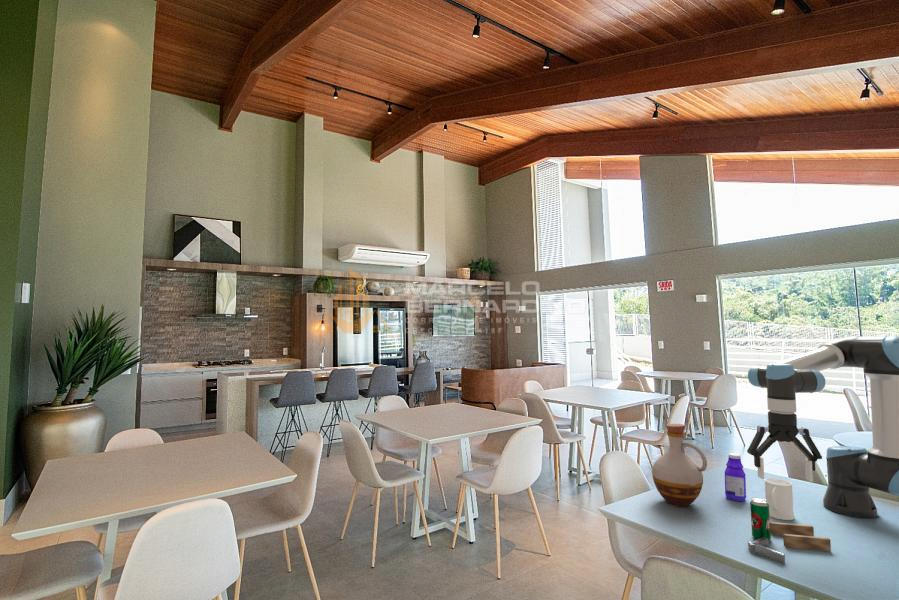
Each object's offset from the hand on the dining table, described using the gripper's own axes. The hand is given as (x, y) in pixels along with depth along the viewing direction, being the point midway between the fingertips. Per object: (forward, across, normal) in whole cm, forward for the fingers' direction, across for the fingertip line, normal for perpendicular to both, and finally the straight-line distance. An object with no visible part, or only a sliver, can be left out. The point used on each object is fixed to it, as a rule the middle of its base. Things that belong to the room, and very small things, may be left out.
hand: (784, 479), depth 145 cm
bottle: (+19, +2, -37) cm, 42 cm away
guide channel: (+19, -3, 0) cm, 19 cm away
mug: (+19, -6, -21) cm, 29 cm away
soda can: (+19, +8, 0) cm, 21 cm away
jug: (+19, +25, -26) cm, 41 cm away
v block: (+19, +11, +11) cm, 24 cm away
